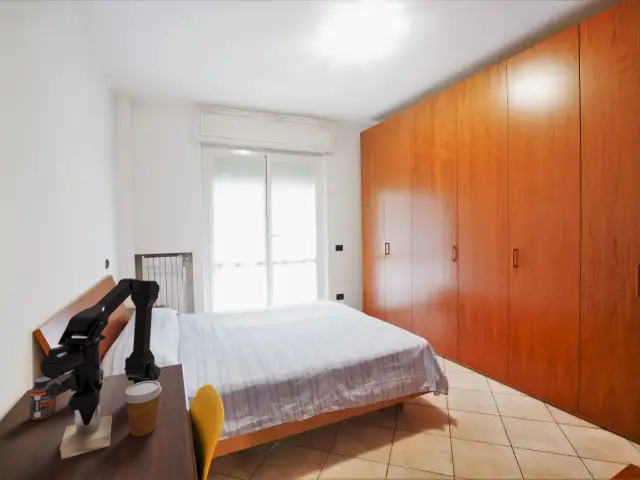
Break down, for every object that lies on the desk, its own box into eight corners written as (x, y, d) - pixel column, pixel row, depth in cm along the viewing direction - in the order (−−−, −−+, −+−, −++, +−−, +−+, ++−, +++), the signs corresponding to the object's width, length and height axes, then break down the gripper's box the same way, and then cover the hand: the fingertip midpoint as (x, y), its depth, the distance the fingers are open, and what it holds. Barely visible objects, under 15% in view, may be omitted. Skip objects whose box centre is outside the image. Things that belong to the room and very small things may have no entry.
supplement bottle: (40, 422, 94) (40, 384, 94) (24, 420, 95) (24, 382, 95) (61, 411, 100) (60, 375, 100) (45, 409, 101) (45, 374, 101)
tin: (76, 424, 86) (75, 395, 86) (101, 418, 89) (101, 389, 89) (73, 436, 81) (72, 404, 81) (100, 428, 84) (99, 398, 84)
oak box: (112, 425, 93) (112, 415, 92) (110, 445, 84) (110, 434, 84) (66, 437, 87) (66, 426, 87) (60, 460, 78) (59, 448, 78)
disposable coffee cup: (115, 435, 88) (115, 392, 88) (145, 416, 97) (145, 377, 97) (140, 443, 84) (140, 399, 84) (169, 423, 93) (169, 383, 93)
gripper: (55, 356, 89) (56, 411, 89) (39, 383, 73) (40, 450, 73) (103, 348, 95) (104, 400, 95) (98, 372, 79) (99, 434, 79)
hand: (88, 419), depth 85 cm, fingers closed on tin, 5 cm apart
